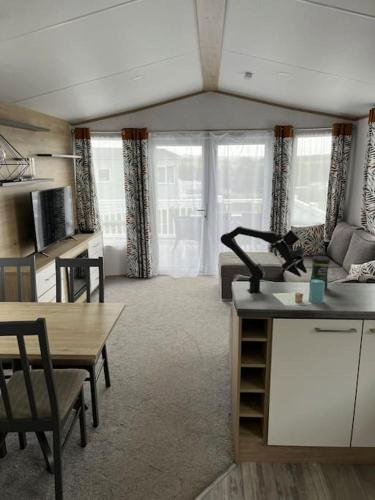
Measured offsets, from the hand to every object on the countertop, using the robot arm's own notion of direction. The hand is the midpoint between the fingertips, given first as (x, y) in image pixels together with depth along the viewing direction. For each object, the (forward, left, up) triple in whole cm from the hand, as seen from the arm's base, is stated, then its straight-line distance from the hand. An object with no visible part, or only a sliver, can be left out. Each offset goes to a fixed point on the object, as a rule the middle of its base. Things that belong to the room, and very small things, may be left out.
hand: (303, 274), depth 197 cm
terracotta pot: (+5, -4, -13) cm, 14 cm away
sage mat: (0, -6, -13) cm, 15 cm away
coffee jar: (-19, +19, -14) cm, 30 cm away
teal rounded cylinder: (+5, +5, -13) cm, 15 cm away
